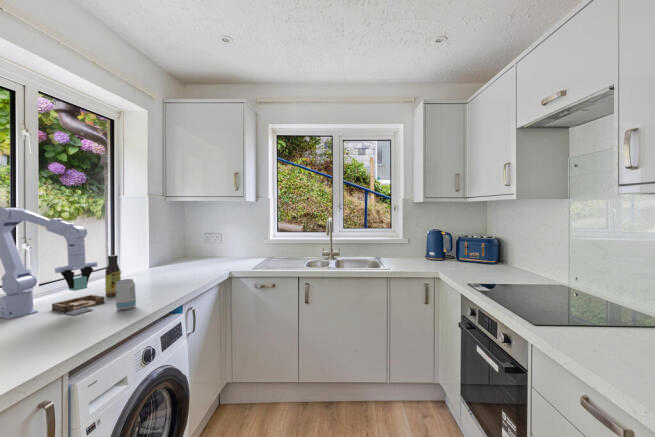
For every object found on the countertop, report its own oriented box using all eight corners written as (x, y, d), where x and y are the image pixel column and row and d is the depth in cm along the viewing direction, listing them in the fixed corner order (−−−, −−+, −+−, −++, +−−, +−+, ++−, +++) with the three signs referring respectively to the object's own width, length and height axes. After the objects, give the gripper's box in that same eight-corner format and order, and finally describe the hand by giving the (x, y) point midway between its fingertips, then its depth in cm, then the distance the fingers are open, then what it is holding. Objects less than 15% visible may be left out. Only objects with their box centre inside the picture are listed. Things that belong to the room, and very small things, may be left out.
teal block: (75, 290, 127) (74, 278, 127) (68, 289, 129) (68, 278, 129) (87, 288, 131) (86, 276, 131) (81, 287, 133) (80, 275, 133)
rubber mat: (73, 315, 123) (73, 314, 123) (64, 313, 126) (64, 312, 126) (93, 310, 129) (93, 309, 129) (83, 308, 132) (83, 307, 132)
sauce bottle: (113, 297, 149) (111, 256, 148) (102, 296, 150) (100, 256, 149) (124, 293, 155) (122, 254, 155) (114, 293, 156) (112, 254, 156)
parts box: (64, 313, 126) (64, 306, 126) (52, 310, 131) (51, 303, 131) (104, 302, 140) (104, 296, 140) (91, 300, 144) (91, 294, 144)
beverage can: (119, 307, 133) (117, 279, 132) (137, 305, 135) (136, 278, 135) (114, 312, 126) (113, 283, 126) (133, 309, 129) (132, 281, 128)
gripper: (61, 257, 121) (62, 291, 122) (100, 252, 134) (102, 283, 135) (51, 256, 124) (53, 290, 125) (91, 252, 137) (92, 282, 138)
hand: (78, 286), depth 130 cm, fingers closed on teal block, 4 cm apart
